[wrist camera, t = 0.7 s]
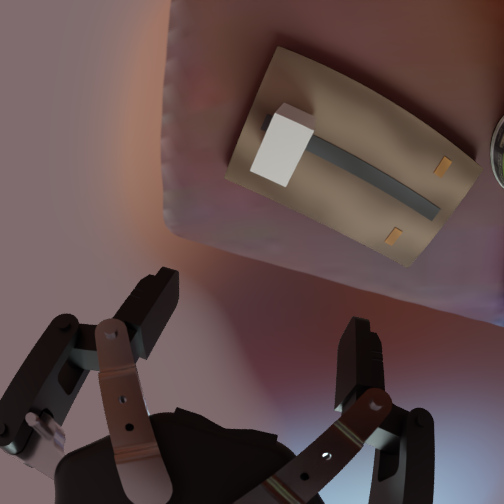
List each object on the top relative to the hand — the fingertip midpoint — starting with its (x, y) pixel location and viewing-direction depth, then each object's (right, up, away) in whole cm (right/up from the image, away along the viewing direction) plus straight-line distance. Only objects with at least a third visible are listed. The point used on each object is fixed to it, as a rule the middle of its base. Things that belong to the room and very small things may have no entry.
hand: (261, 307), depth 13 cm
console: (+10, +11, +14) cm, 20 cm away
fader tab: (+3, +13, +12) cm, 17 cm away
